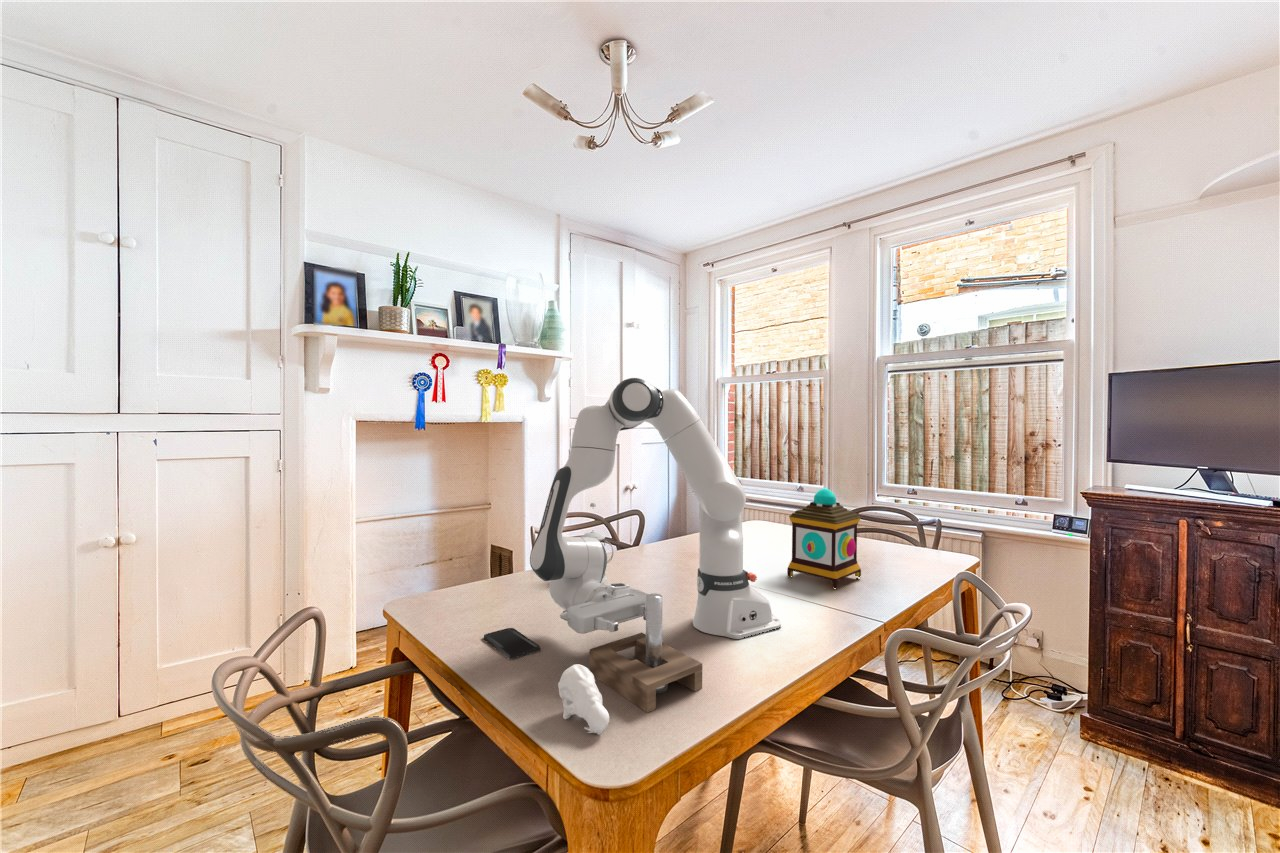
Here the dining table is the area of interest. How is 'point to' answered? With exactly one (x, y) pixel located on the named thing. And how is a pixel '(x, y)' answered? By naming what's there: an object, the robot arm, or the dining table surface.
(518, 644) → the phone
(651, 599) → the steel peg
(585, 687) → the white lumpy figurine
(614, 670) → the keyhole board
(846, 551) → the decorative lantern
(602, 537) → the french press
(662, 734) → the dining table surface
